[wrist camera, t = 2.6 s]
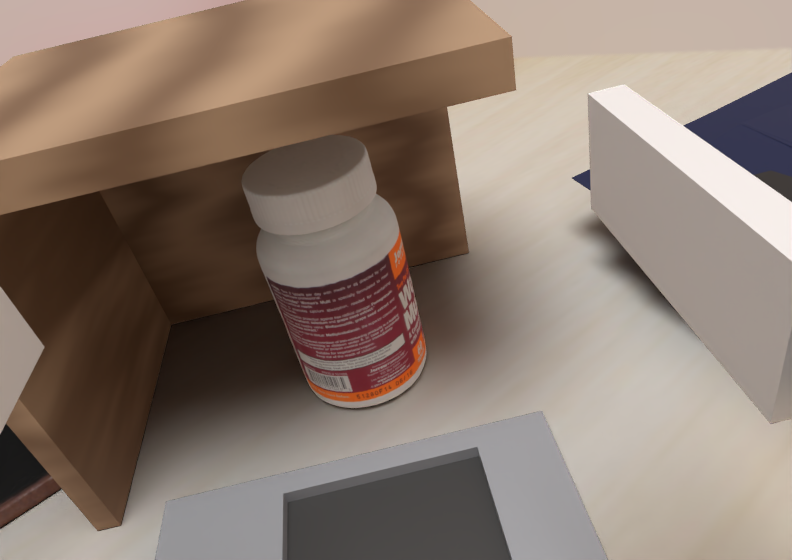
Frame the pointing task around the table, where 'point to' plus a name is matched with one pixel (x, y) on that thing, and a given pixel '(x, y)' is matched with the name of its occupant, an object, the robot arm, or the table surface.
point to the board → (400, 505)
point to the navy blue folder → (748, 130)
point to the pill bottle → (337, 270)
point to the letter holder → (20, 478)
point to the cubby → (202, 187)
